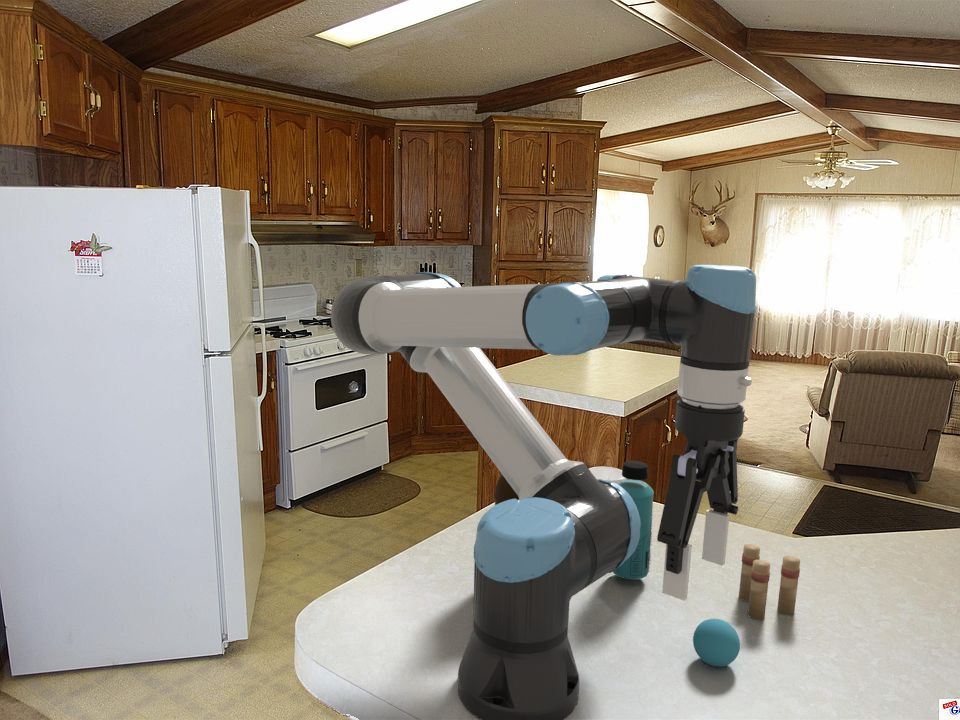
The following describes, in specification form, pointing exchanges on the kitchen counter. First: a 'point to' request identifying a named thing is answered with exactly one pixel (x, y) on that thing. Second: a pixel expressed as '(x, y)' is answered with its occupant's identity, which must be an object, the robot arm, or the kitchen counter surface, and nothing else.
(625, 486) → the beverage bottle
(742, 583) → the pin back left
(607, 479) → the white cup
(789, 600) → the pin back right
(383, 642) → the kitchen counter surface
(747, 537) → the kitchen counter surface
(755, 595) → the pin front
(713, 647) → the ball
